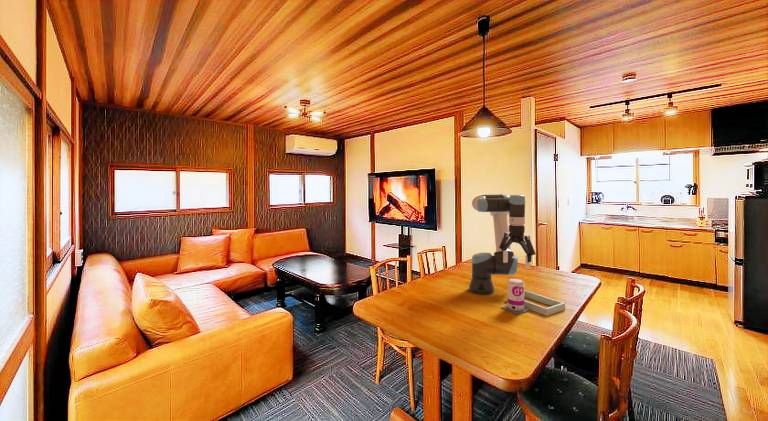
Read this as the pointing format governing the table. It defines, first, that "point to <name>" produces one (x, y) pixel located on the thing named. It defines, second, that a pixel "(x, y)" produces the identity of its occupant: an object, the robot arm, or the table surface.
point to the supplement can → (515, 294)
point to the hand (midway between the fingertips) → (516, 265)
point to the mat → (516, 311)
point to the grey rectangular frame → (555, 305)
